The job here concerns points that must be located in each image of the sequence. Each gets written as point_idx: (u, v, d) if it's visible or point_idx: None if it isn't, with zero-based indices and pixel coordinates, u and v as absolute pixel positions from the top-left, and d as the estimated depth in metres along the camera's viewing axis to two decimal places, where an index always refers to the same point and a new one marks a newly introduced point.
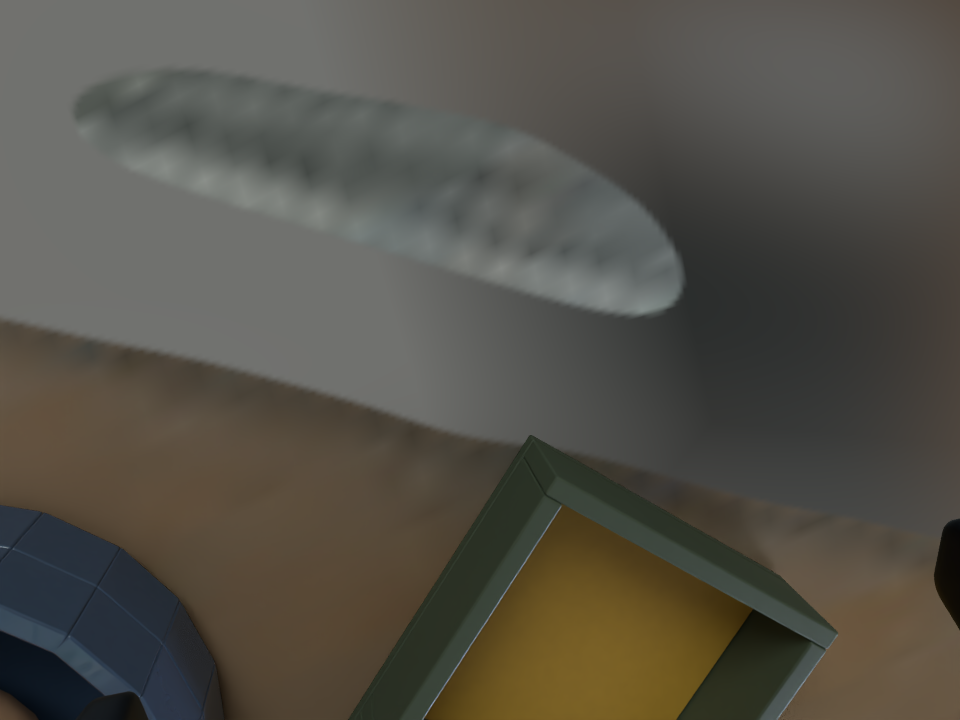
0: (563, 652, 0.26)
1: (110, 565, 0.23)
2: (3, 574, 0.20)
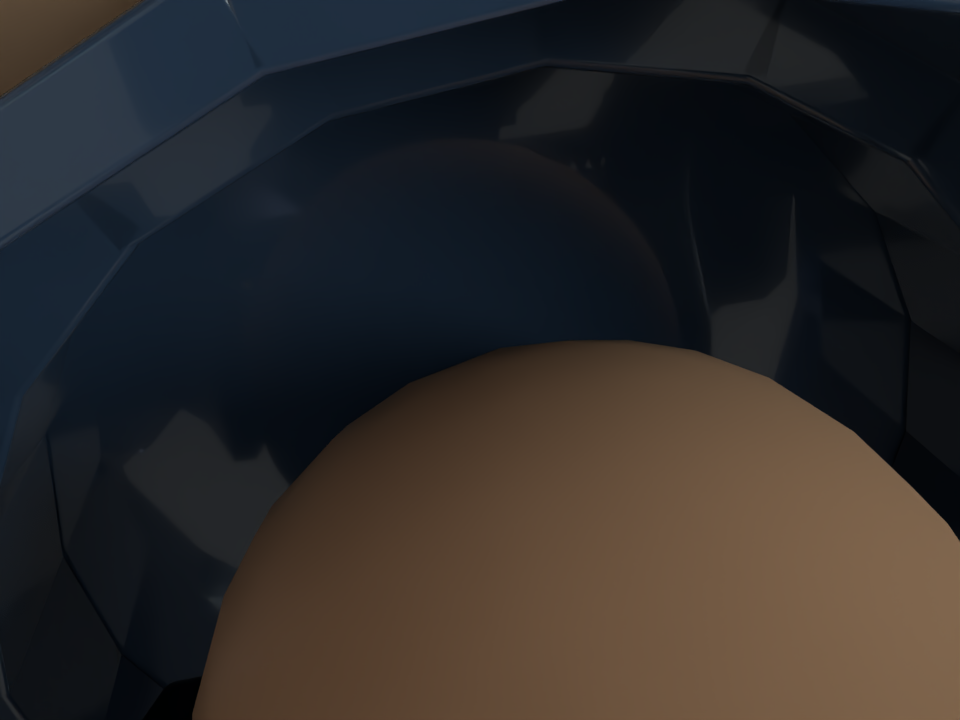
0: None
1: None
2: None
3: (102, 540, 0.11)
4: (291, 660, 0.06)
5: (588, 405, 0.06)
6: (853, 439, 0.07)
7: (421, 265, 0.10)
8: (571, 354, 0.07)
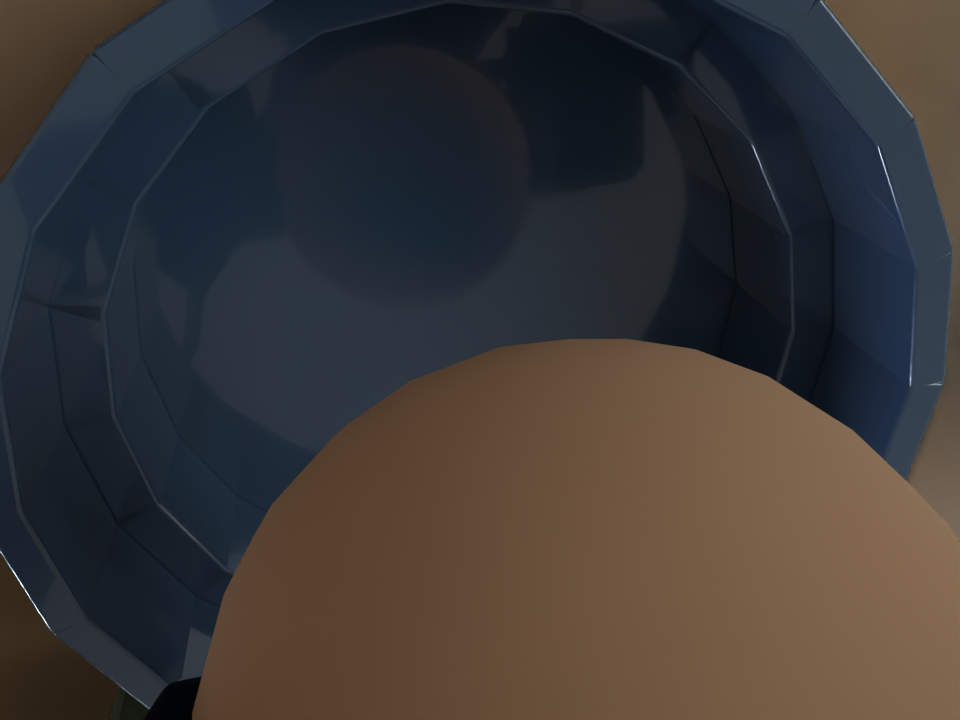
0: None
1: None
2: None
3: (167, 344, 0.16)
4: (293, 656, 0.06)
5: (588, 404, 0.06)
6: (852, 437, 0.07)
7: (385, 148, 0.15)
8: (570, 352, 0.07)
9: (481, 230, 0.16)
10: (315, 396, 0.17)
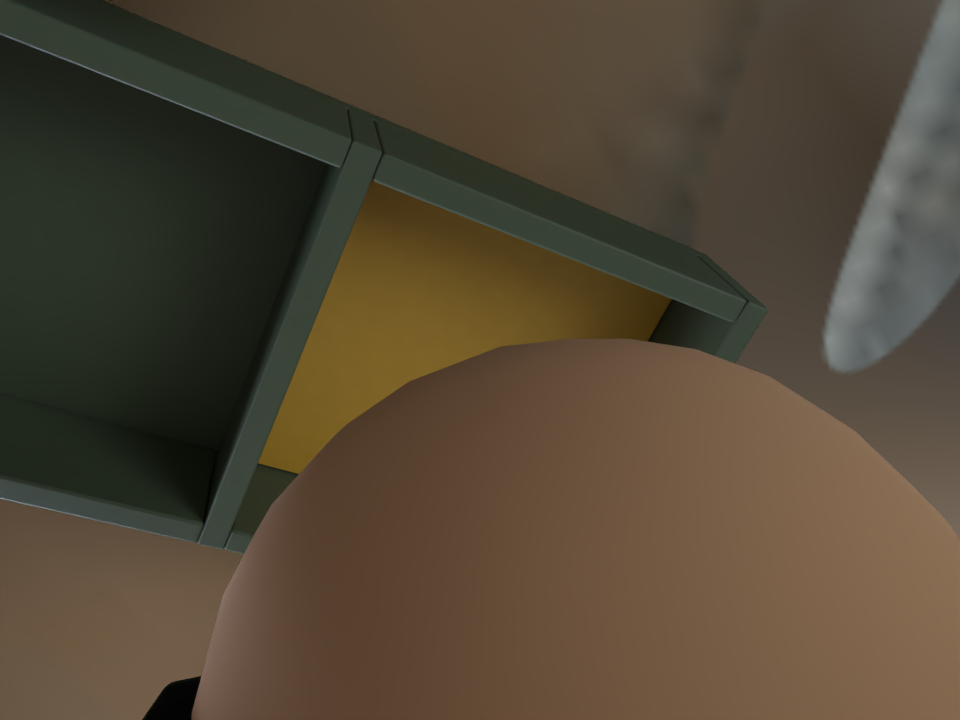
0: (454, 351, 0.21)
1: None
2: None
3: None
4: (291, 657, 0.06)
5: (588, 402, 0.06)
6: (853, 437, 0.07)
7: None
8: (571, 352, 0.07)
9: None
10: None
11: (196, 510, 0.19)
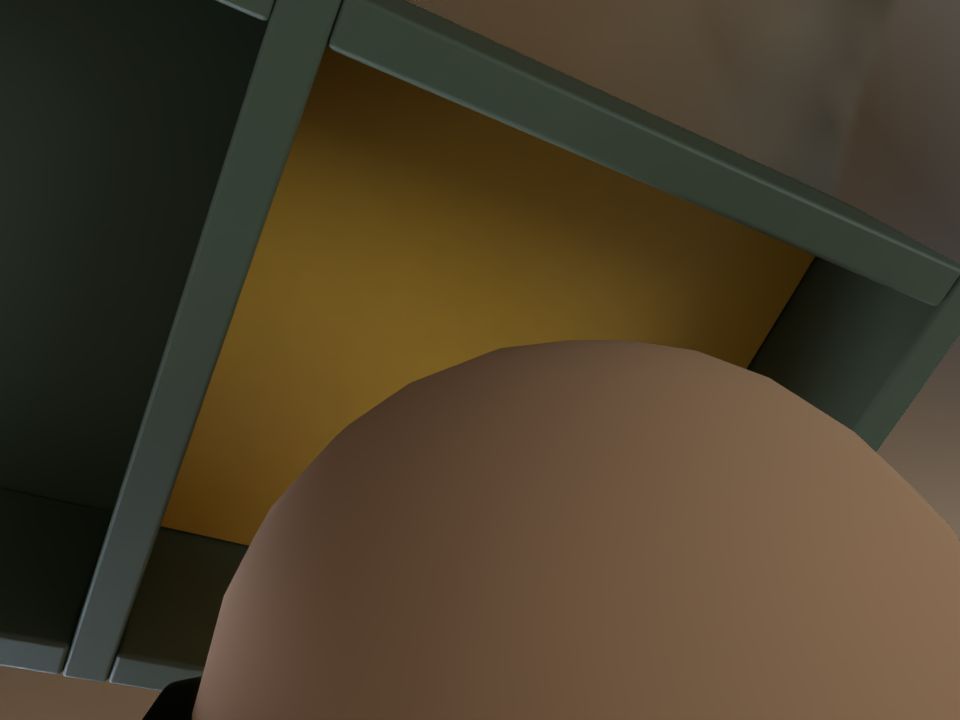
0: (474, 357, 0.14)
1: None
2: None
3: None
4: (293, 660, 0.06)
5: (590, 404, 0.06)
6: (854, 439, 0.07)
7: None
8: (571, 354, 0.07)
9: None
10: None
11: (60, 621, 0.12)
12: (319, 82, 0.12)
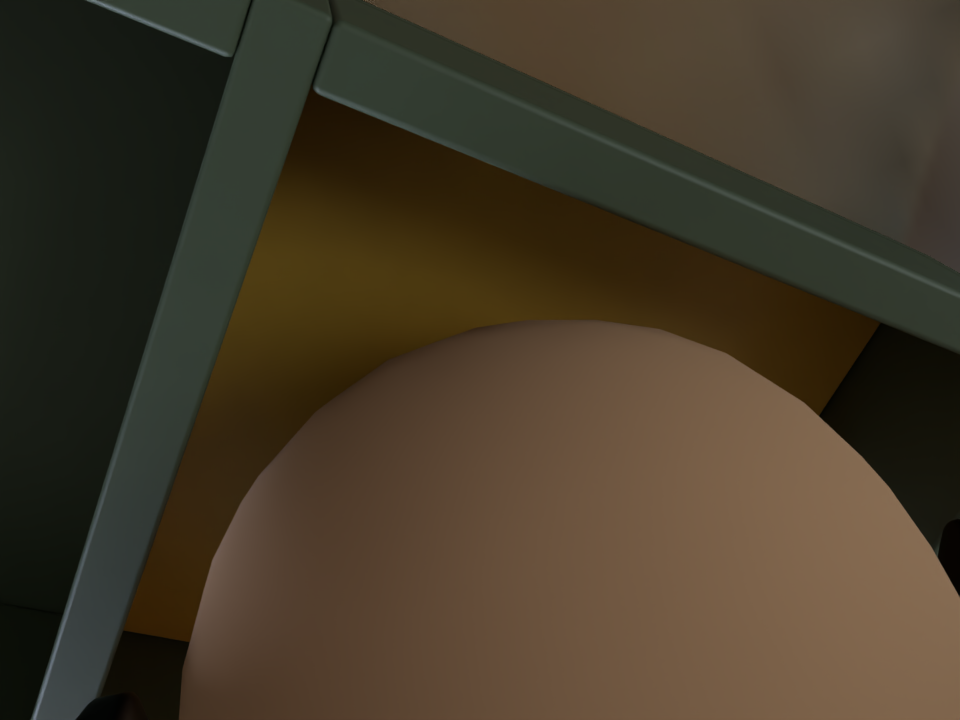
0: None
1: None
2: None
3: None
4: (272, 606, 0.06)
5: (551, 373, 0.07)
6: (802, 408, 0.07)
7: None
8: (539, 330, 0.08)
9: None
10: None
11: None
12: (305, 121, 0.09)
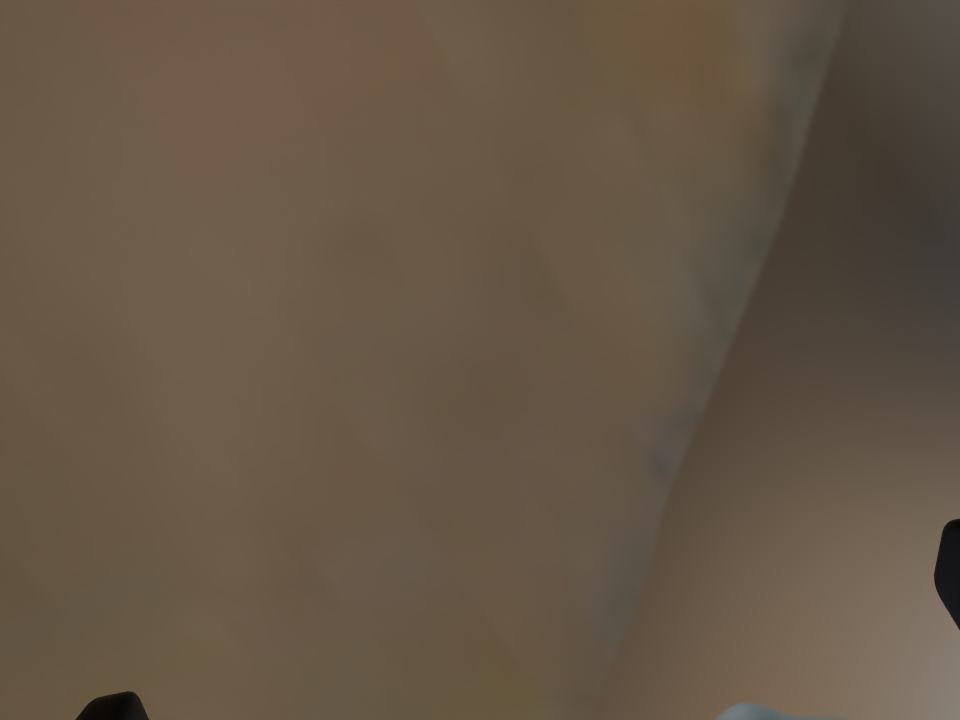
0: None
1: None
2: None
3: None
4: None
5: None
6: None
7: None
8: None
9: None
10: None
11: None
12: None
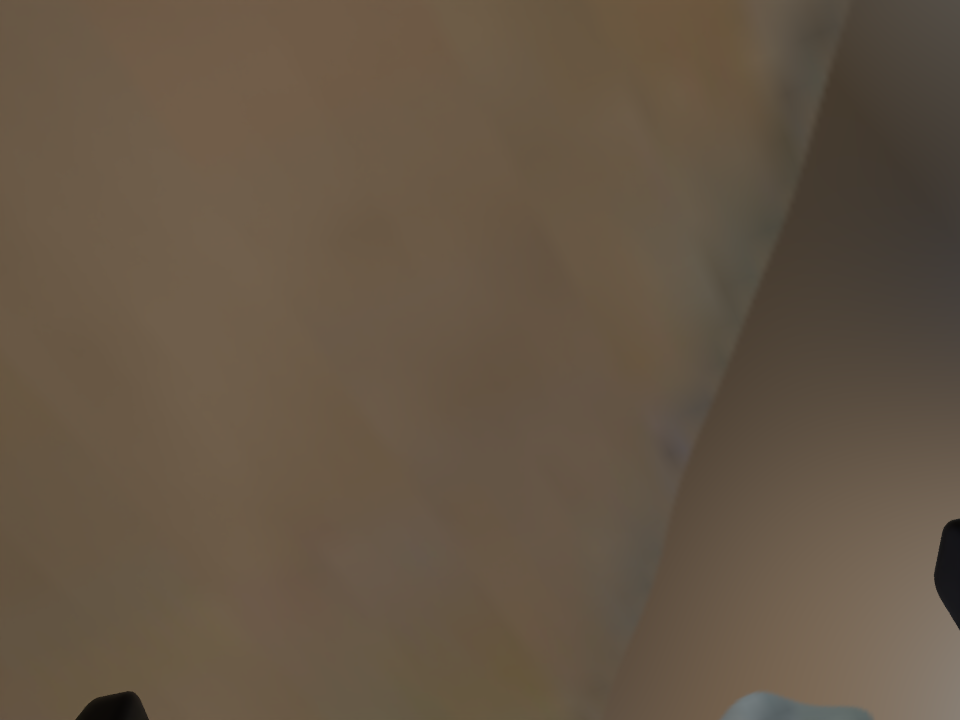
0: None
1: None
2: None
3: None
4: None
5: None
6: None
7: None
8: None
9: None
10: None
11: None
12: None
